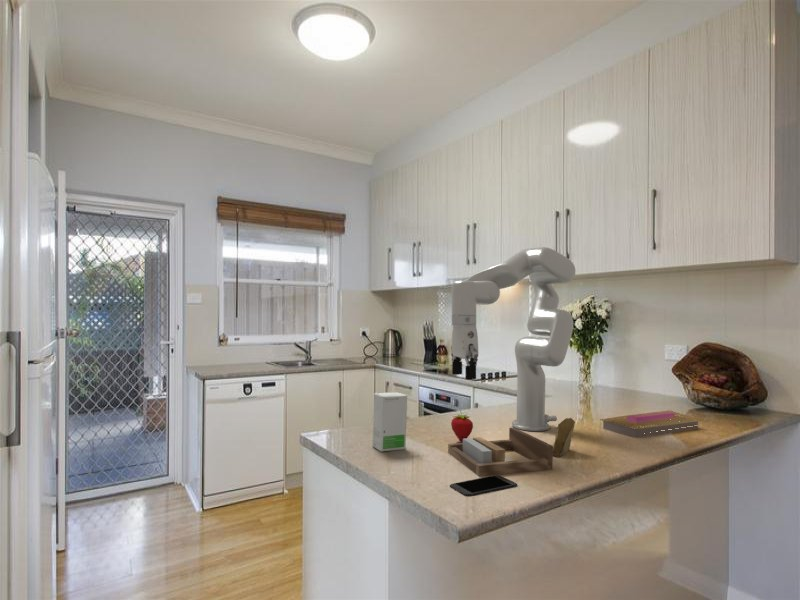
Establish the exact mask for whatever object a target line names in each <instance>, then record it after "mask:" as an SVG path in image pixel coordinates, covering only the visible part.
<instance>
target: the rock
mask: <svg viewBox="0 0 800 600" xmlns="http://www.w3.org/2000/svg"><path fill="white" fill-rule="evenodd" d="M575 426H576V421H575V420H574V419H573V418H572V417H566V418H564V419H563V420H561V422H559V423H558V425H557V431H556V434H555V439H554V444H553V445H552V446H553V457H554V456H555V457H557V458H560V457H561V456H563V455H564V454H566V453H567V452H568V451H570V448H571V445H572V442H571V441H572V438H573V433H574V430H575Z"/></svg>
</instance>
